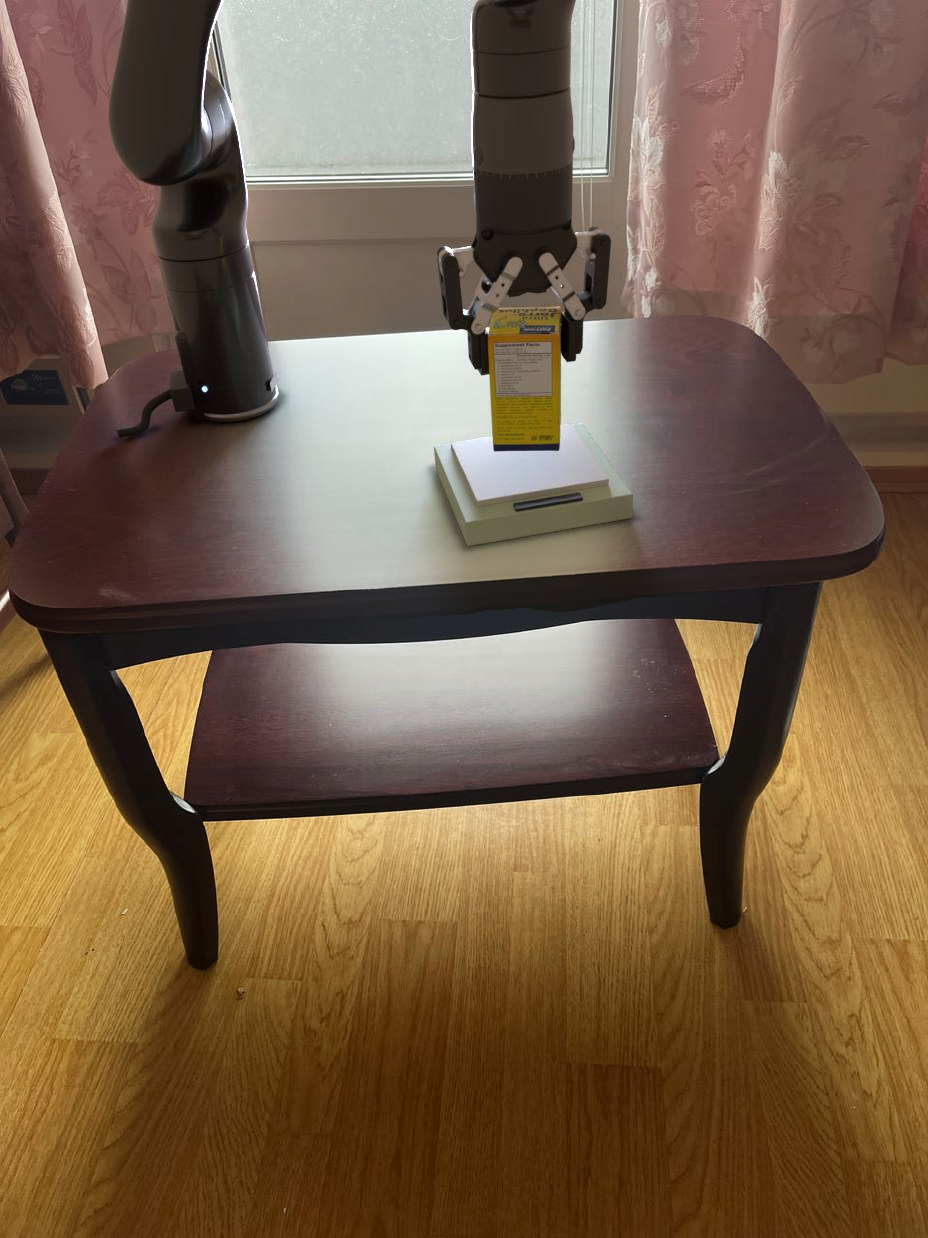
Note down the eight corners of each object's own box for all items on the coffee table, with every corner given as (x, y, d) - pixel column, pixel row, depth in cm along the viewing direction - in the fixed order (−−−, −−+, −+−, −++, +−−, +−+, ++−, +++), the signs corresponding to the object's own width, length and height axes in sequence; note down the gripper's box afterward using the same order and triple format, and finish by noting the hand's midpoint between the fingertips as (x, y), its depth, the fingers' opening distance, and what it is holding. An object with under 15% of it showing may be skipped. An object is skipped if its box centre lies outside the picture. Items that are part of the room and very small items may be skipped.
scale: (467, 546, 82) (465, 516, 80) (435, 468, 93) (433, 440, 91) (631, 518, 84) (633, 488, 82) (582, 445, 95) (582, 417, 93)
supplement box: (561, 420, 88) (562, 304, 81) (559, 452, 83) (561, 332, 76) (496, 421, 88) (492, 305, 81) (492, 453, 84) (487, 333, 77)
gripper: (597, 135, 75) (591, 336, 85) (419, 155, 73) (435, 359, 83) (631, 157, 69) (620, 370, 80) (439, 180, 67) (453, 396, 78)
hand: (525, 364), depth 81 cm, fingers closed on supplement box, 7 cm apart
